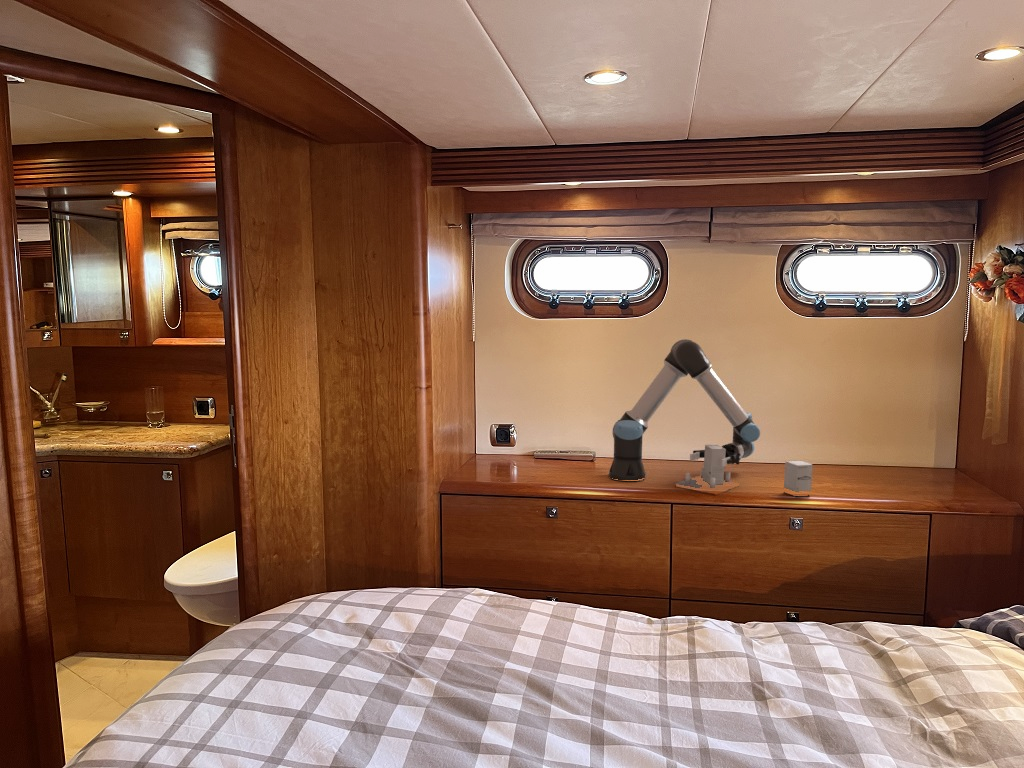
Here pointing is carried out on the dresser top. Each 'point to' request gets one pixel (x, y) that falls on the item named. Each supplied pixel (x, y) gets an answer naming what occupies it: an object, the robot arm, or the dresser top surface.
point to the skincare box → (713, 464)
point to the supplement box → (798, 476)
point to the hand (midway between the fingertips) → (706, 460)
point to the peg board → (692, 483)
